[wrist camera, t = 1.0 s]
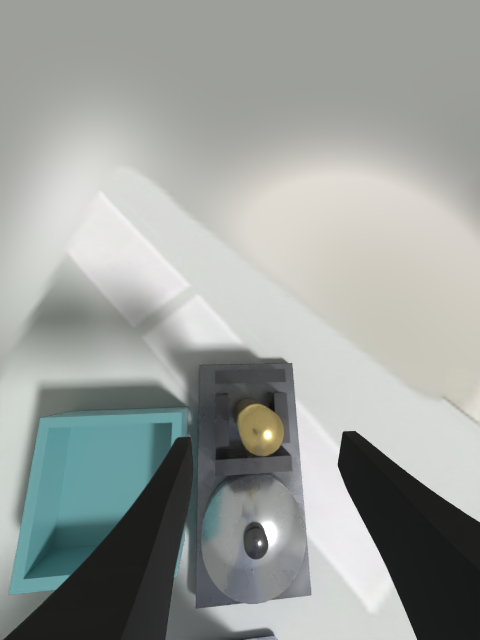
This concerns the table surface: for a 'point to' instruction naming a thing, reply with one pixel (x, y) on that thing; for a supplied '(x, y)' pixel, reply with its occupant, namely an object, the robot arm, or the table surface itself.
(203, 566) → the plate
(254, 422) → the pin
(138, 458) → the tray
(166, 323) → the table surface
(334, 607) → the table surface
